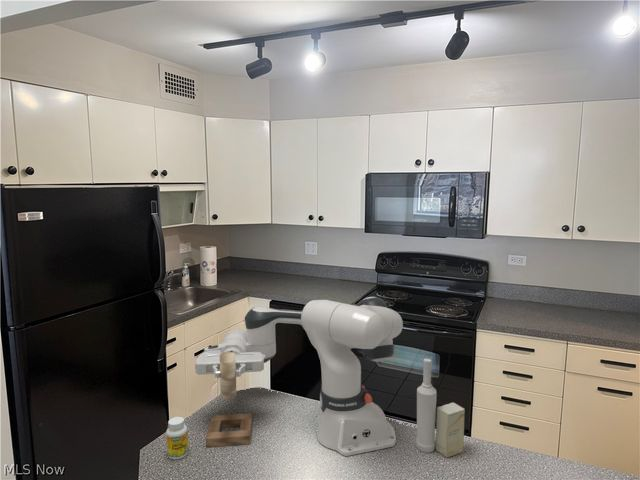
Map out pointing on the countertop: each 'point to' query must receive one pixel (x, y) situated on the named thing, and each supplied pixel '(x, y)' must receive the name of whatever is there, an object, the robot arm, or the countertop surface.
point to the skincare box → (450, 429)
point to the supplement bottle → (177, 438)
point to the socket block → (229, 437)
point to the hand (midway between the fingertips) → (227, 374)
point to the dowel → (228, 375)
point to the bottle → (426, 411)
